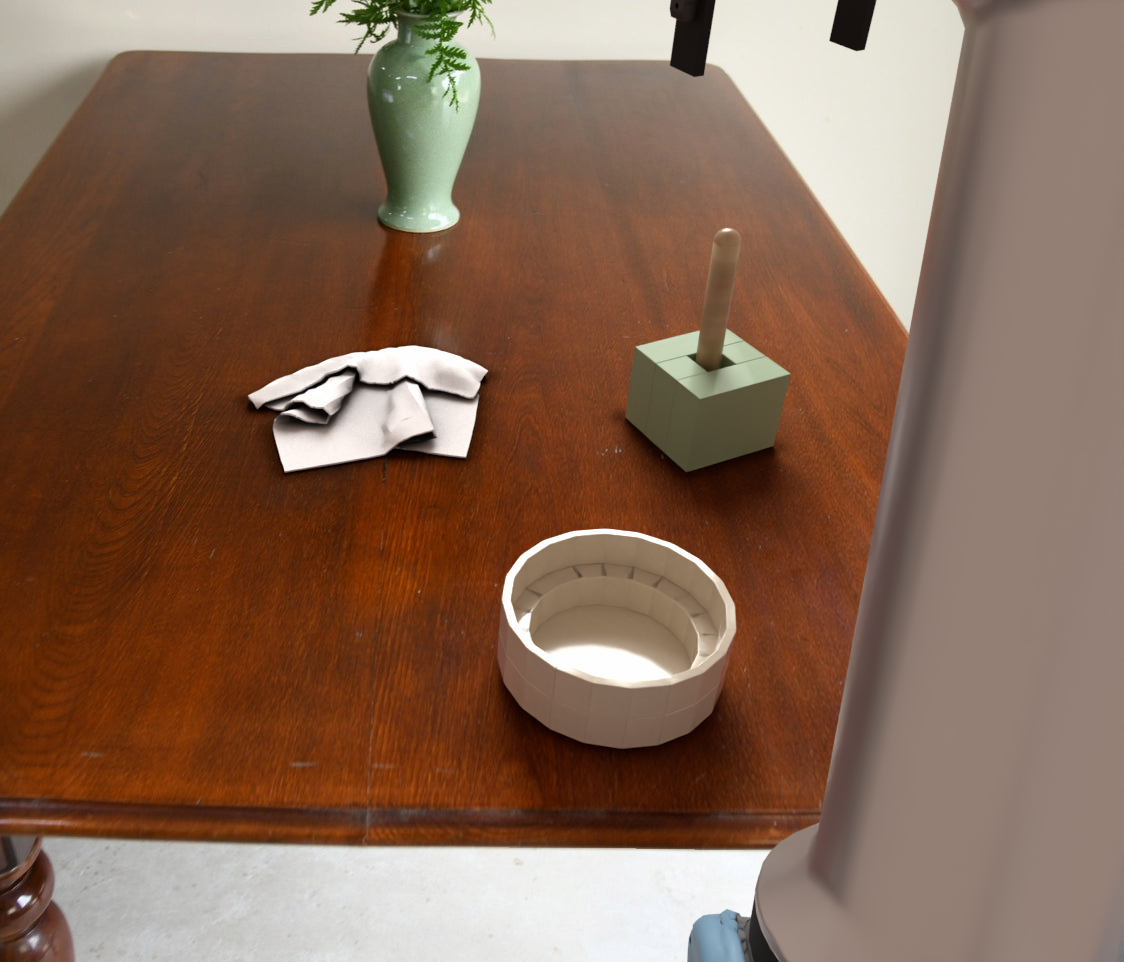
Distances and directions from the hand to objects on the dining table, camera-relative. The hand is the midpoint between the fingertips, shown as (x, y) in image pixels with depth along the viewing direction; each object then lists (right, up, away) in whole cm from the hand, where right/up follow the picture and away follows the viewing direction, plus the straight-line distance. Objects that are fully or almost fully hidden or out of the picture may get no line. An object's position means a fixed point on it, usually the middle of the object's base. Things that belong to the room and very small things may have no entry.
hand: (768, 58), depth 77 cm
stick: (0, -24, +19) cm, 31 cm away
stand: (0, -25, +18) cm, 31 cm away
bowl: (-12, -41, -3) cm, 43 cm away
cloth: (-28, -23, +21) cm, 42 cm away
